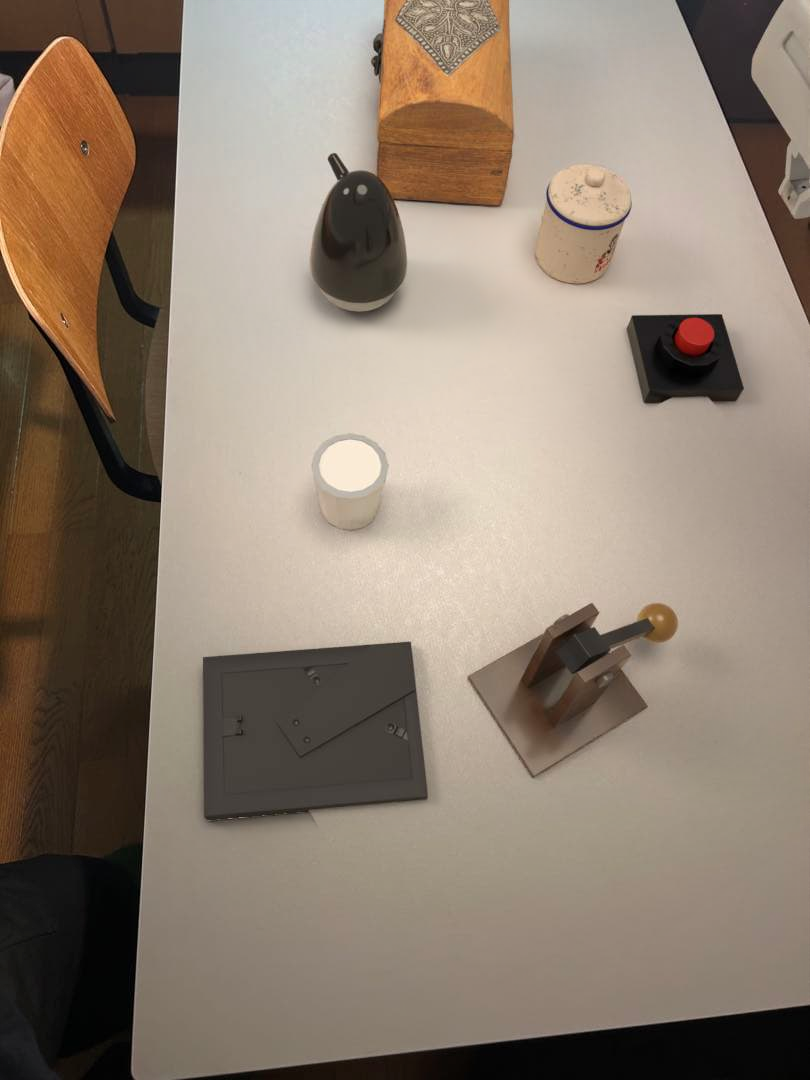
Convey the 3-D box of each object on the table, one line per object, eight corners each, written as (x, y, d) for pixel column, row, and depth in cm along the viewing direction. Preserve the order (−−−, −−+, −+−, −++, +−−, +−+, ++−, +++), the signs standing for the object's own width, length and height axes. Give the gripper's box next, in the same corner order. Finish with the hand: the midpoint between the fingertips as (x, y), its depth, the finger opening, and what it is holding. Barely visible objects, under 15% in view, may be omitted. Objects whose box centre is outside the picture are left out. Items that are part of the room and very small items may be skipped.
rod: (642, 614, 82) (668, 591, 80) (666, 645, 81) (693, 623, 79) (546, 648, 72) (572, 623, 70) (572, 684, 71) (599, 660, 69)
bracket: (576, 619, 85) (612, 555, 74) (643, 711, 81) (691, 658, 70) (465, 681, 81) (485, 624, 70) (530, 781, 78) (562, 737, 66)
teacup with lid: (607, 293, 104) (636, 212, 93) (526, 278, 104) (547, 195, 94) (617, 218, 109) (645, 134, 99) (541, 204, 110) (561, 118, 100)
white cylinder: (298, 504, 89) (295, 464, 83) (349, 461, 91) (349, 419, 85) (350, 549, 87) (350, 512, 81) (400, 504, 89) (404, 464, 83)
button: (704, 328, 97) (710, 317, 96) (712, 355, 96) (718, 344, 94) (670, 329, 97) (676, 317, 96) (678, 356, 95) (683, 345, 94)
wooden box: (375, 37, 123) (379, -74, 110) (500, 47, 123) (517, -62, 111) (362, 198, 108) (364, 92, 96) (503, 209, 109) (523, 104, 97)
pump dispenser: (370, 242, 105) (374, 126, 92) (422, 302, 102) (435, 191, 88) (292, 277, 102) (285, 162, 89) (343, 340, 98) (343, 231, 85)
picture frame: (409, 649, 82) (205, 664, 81) (411, 639, 80) (202, 655, 79) (426, 801, 76) (206, 822, 75) (428, 795, 74) (202, 816, 73)
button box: (715, 327, 102) (728, 302, 99) (736, 401, 98) (751, 377, 94) (626, 328, 101) (636, 303, 98) (643, 403, 97) (655, 379, 93)
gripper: (774, -51, 65) (706, 121, 77) (917, 148, 56) (814, 308, 68) (855, -58, 66) (774, 113, 78) (1008, 136, 57) (890, 295, 69)
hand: (794, 205), depth 73 cm, fingers closed
